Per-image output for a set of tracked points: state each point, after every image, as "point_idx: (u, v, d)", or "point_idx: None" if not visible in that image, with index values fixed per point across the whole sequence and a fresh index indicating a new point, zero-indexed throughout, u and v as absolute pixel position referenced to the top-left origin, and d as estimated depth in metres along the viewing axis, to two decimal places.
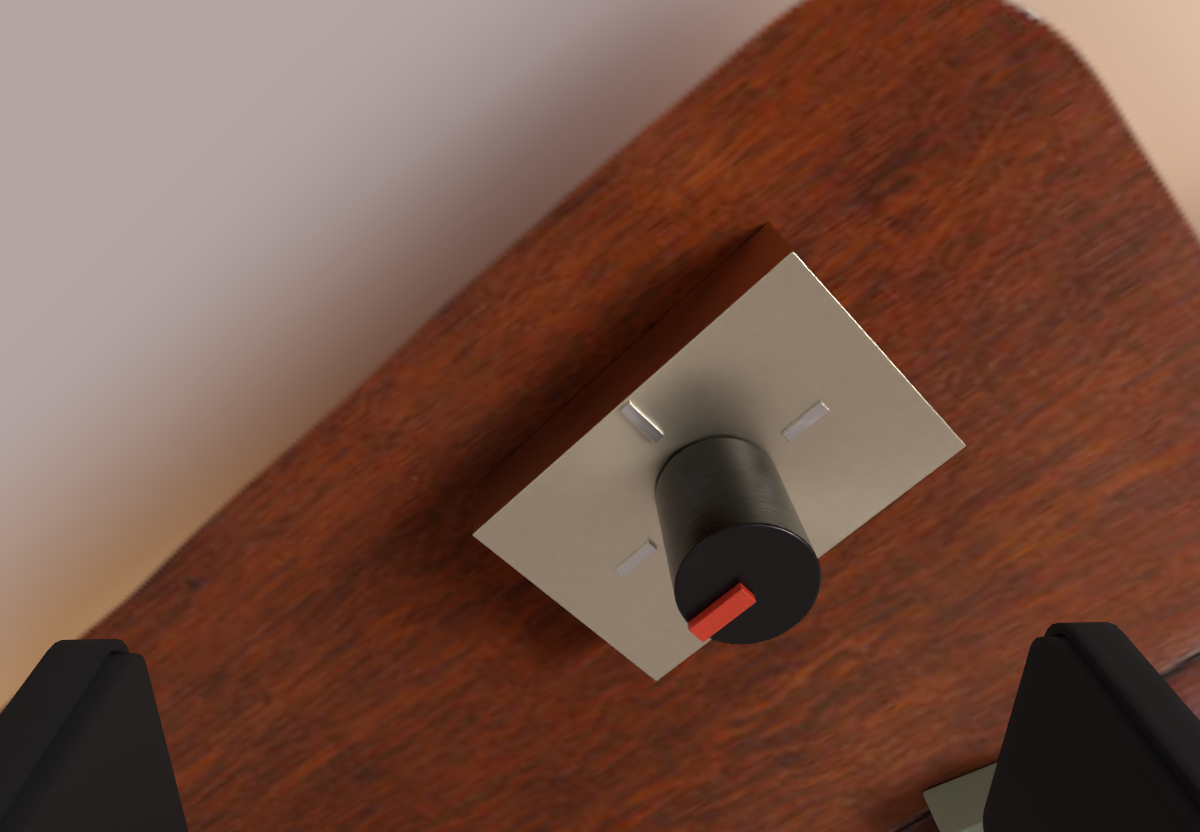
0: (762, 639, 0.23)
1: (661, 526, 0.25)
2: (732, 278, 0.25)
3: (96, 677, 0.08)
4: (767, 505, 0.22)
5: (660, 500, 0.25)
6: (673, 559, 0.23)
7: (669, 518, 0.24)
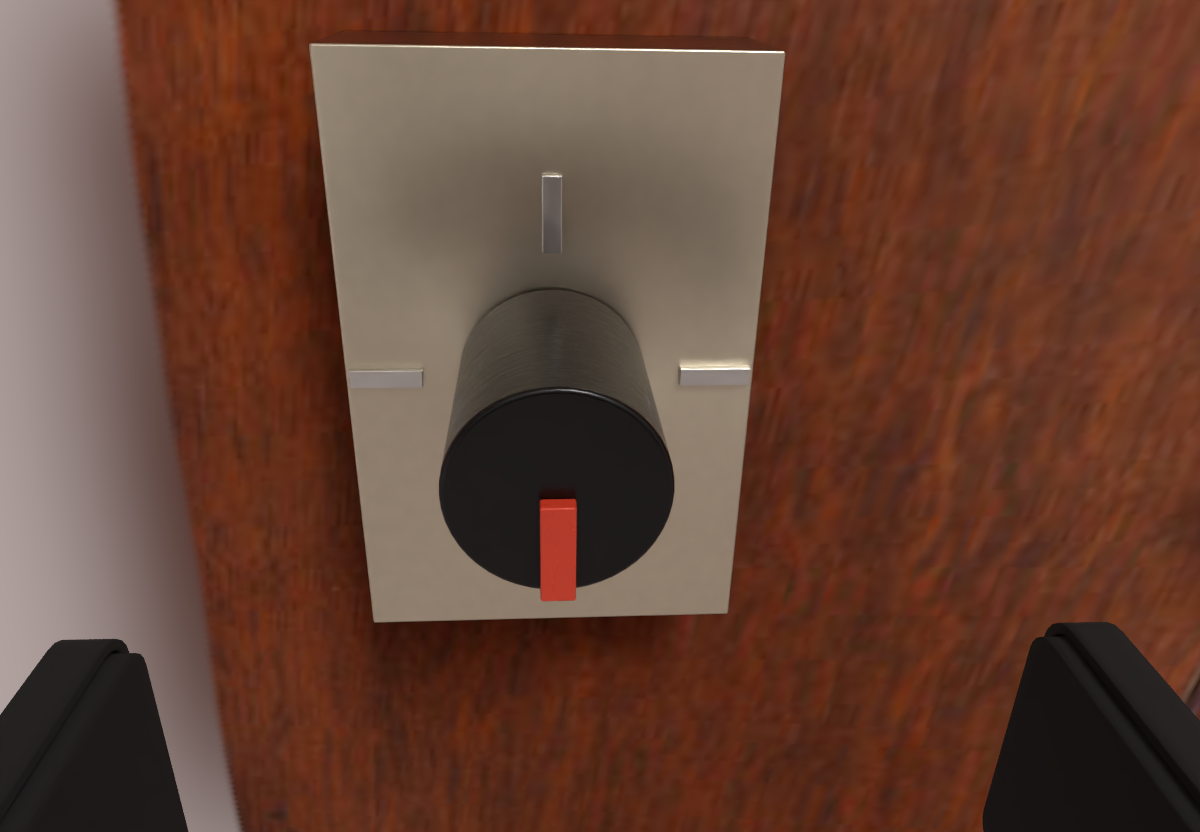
0: (658, 535, 0.14)
1: None
2: None
3: (96, 677, 0.08)
4: (498, 377, 0.14)
5: None
6: None
7: None
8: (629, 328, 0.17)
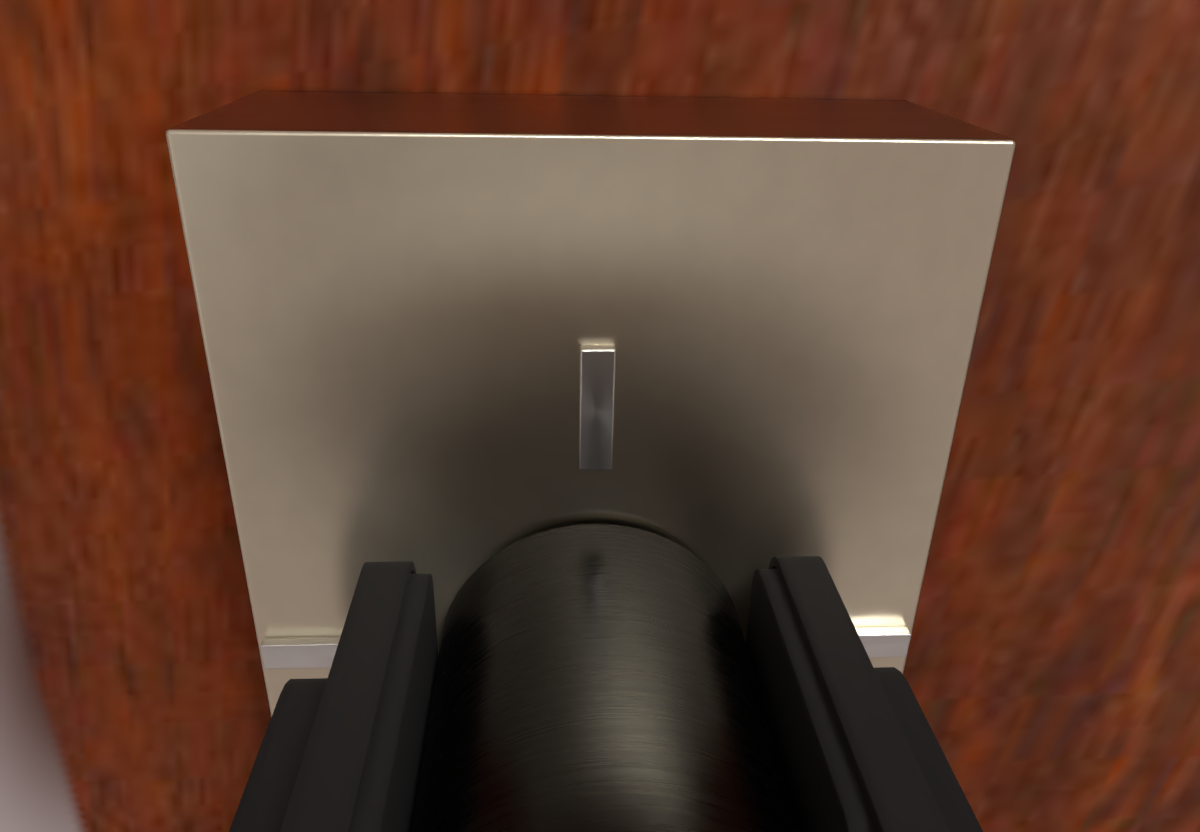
0: None
1: None
2: None
3: (409, 591, 0.10)
4: (501, 794, 0.07)
5: None
6: None
7: None
8: (719, 580, 0.11)
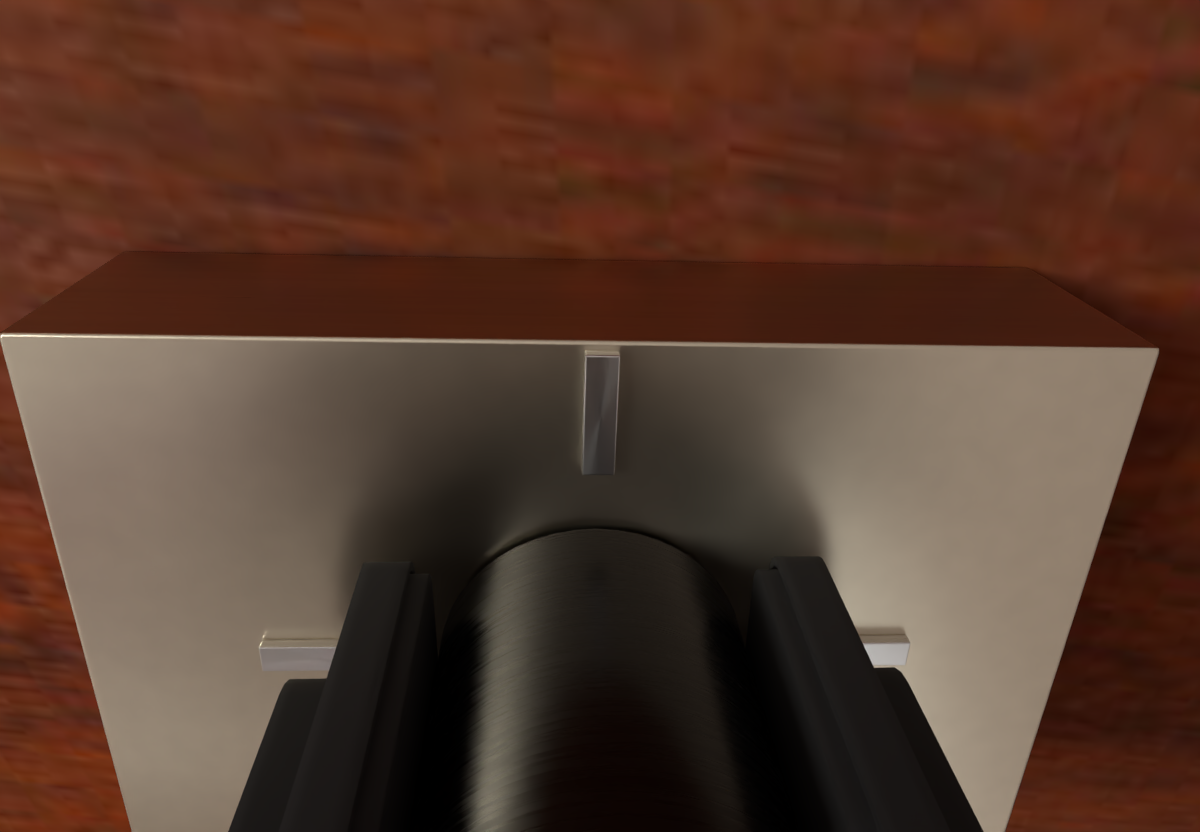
0: None
1: None
2: None
3: (408, 591, 0.10)
4: (504, 800, 0.07)
5: None
6: None
7: None
8: (721, 588, 0.11)
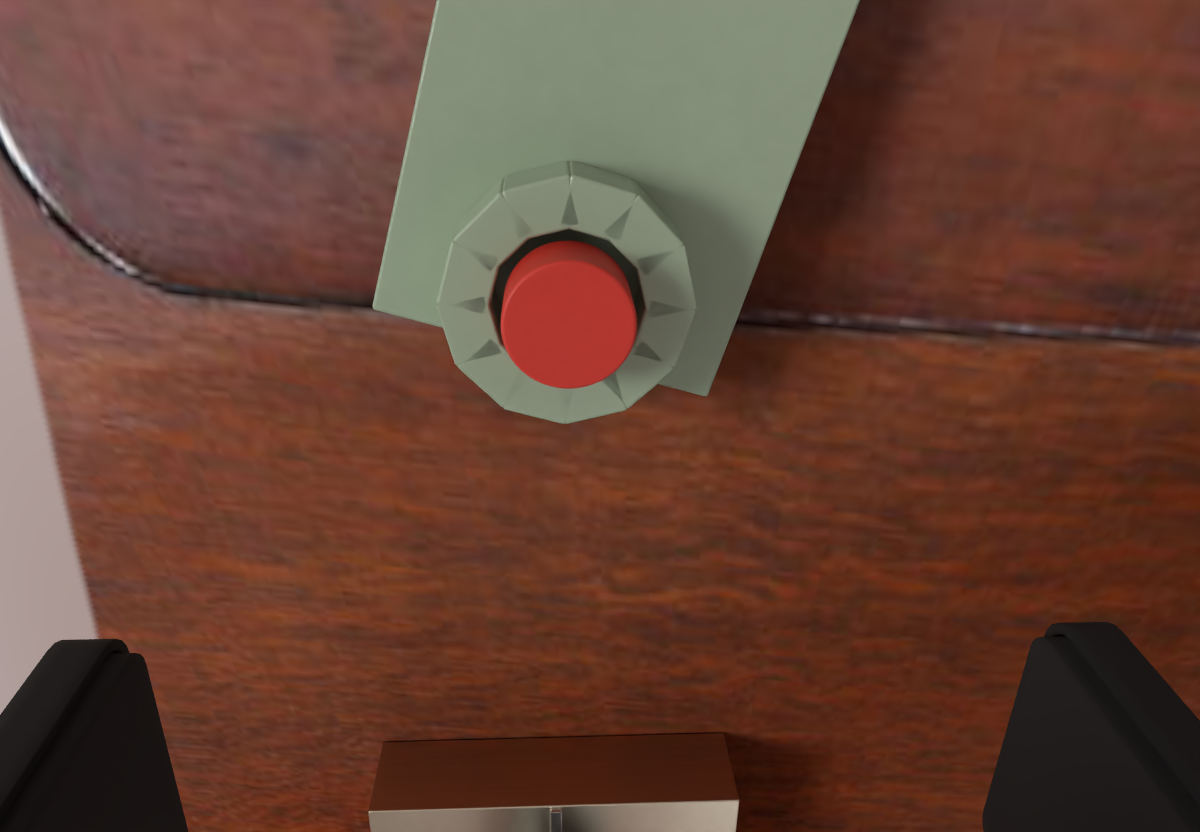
0: None
1: None
2: None
3: (96, 677, 0.08)
4: None
5: None
6: None
7: None
8: None
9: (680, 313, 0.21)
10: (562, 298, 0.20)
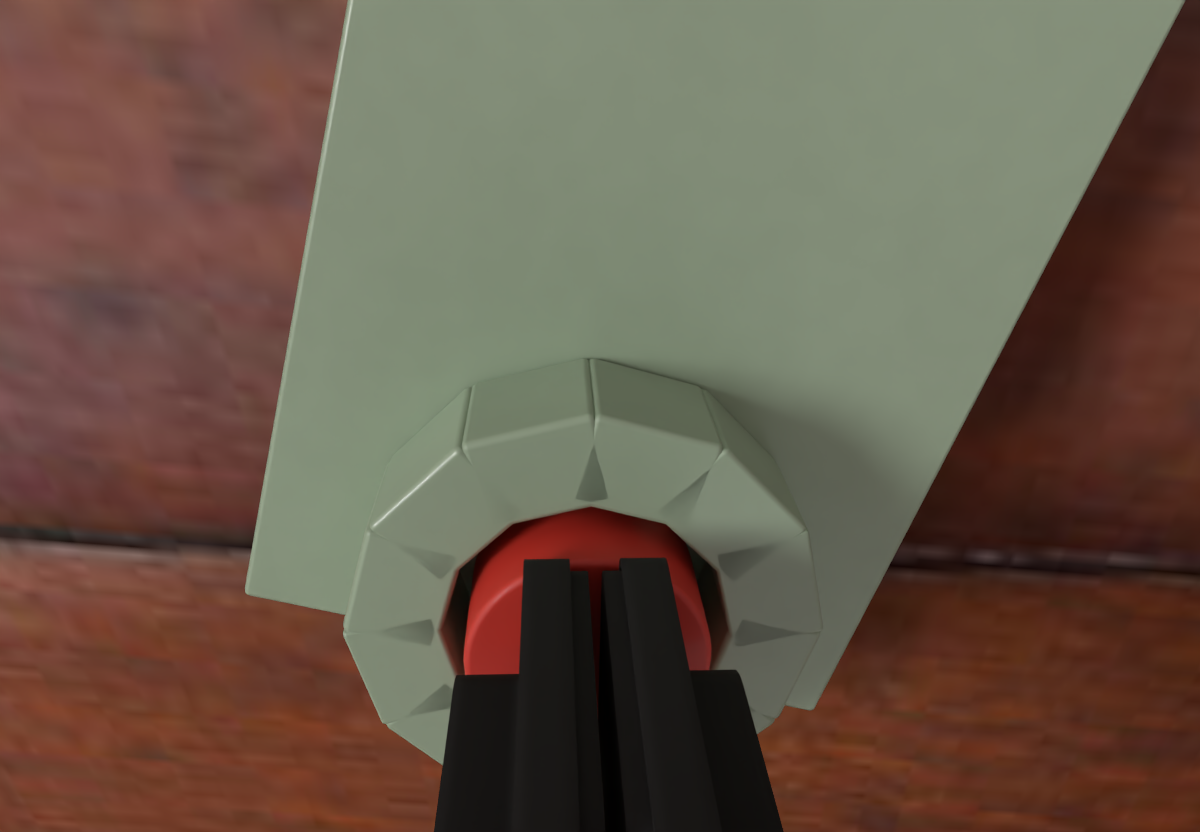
0: None
1: None
2: None
3: (573, 587, 0.10)
4: None
5: None
6: None
7: None
8: None
9: (792, 639, 0.12)
10: None
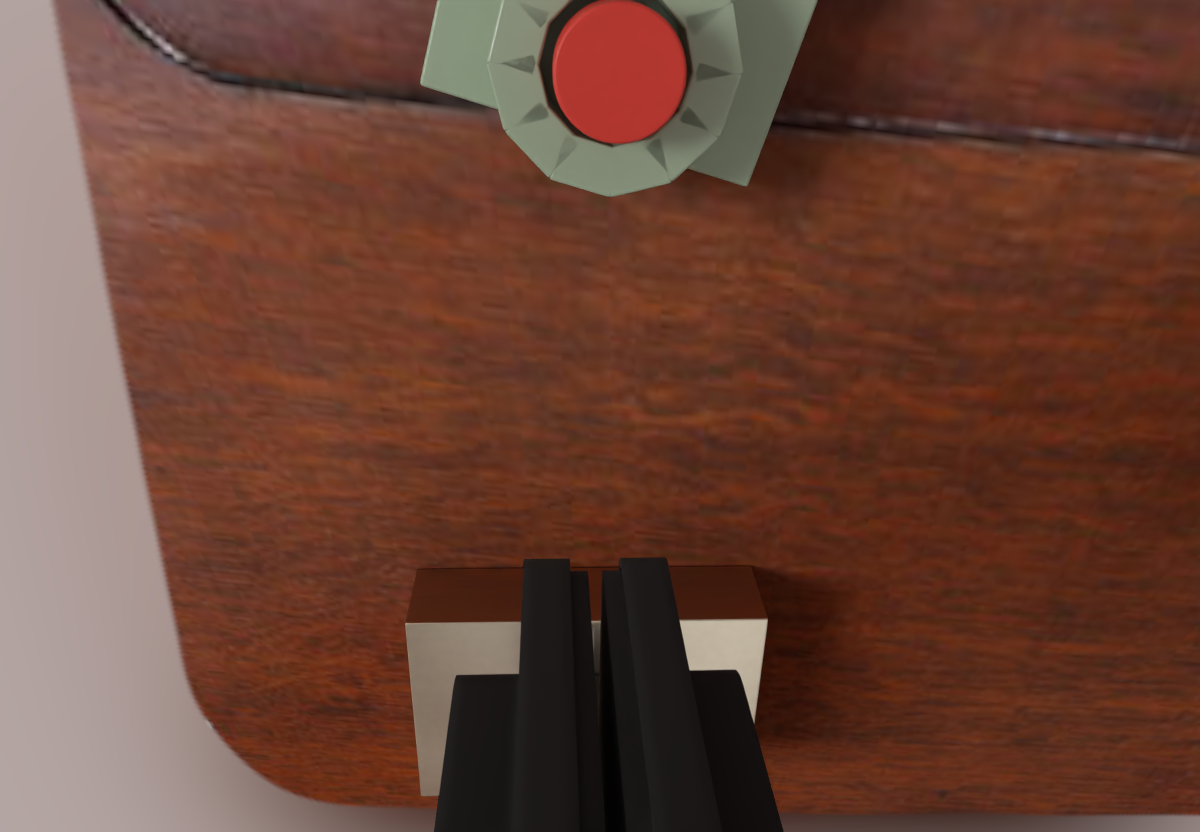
0: None
1: None
2: None
3: (573, 587, 0.10)
4: None
5: None
6: None
7: None
8: None
9: (726, 77, 0.22)
10: (615, 41, 0.20)
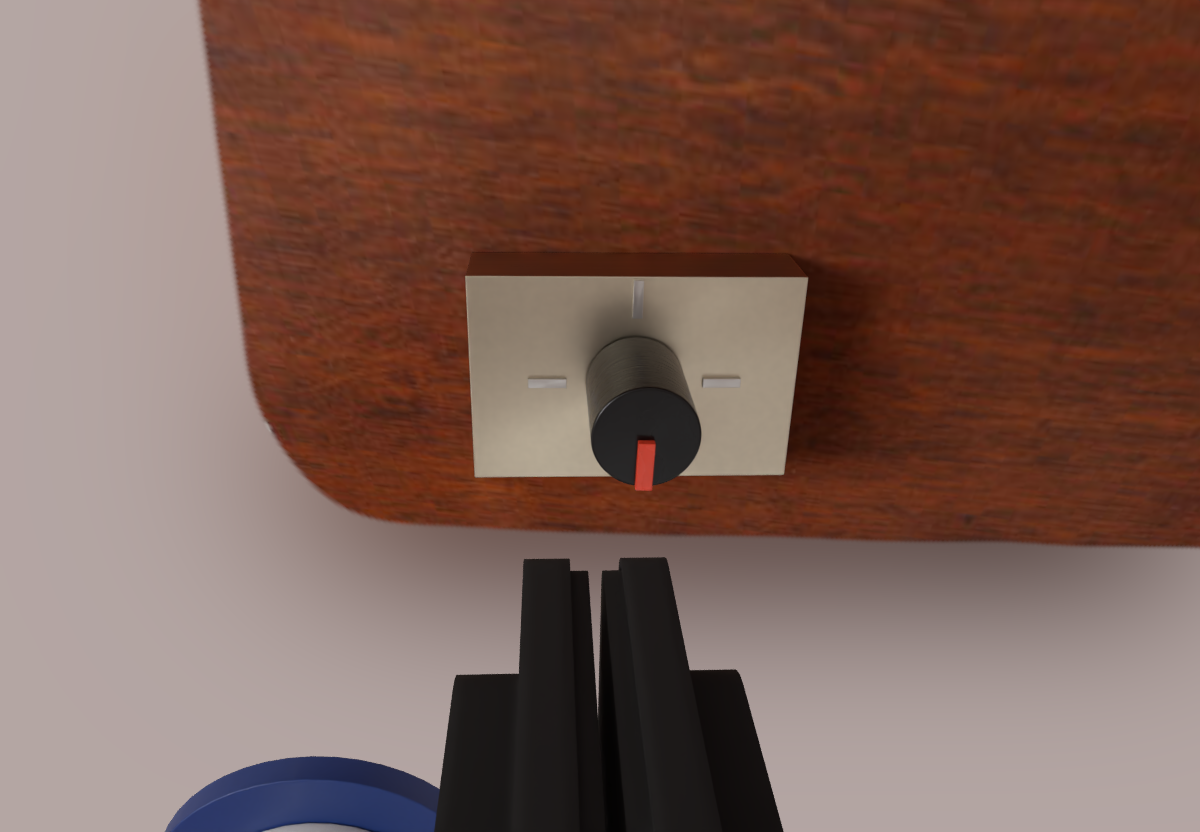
0: (692, 460, 0.30)
1: None
2: None
3: (573, 588, 0.10)
4: (620, 382, 0.30)
5: None
6: None
7: None
8: None
9: None
10: None
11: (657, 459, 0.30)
